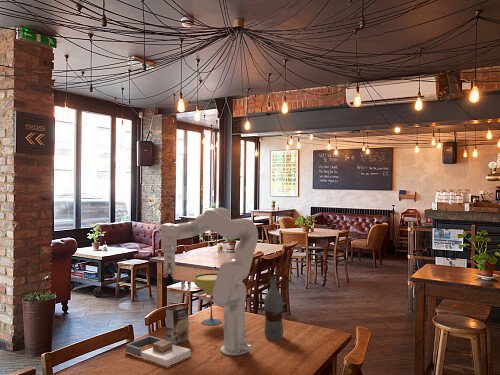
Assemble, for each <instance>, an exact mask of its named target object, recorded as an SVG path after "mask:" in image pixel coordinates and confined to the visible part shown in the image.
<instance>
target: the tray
mask: <svg viewBox="0 0 500 375" xmlns="http://www.w3.org/2000/svg"><path fill="white" fill-rule="evenodd" d="M160 340H164V339H163V338H159V337H156V336H152V335H147V336H145V337H143V338H139V339H137V340H134V341H132V342H128V343H127V344H125V353H126V352H129V353H132V354H134V355H137V356H140V357H141V348H140V347H143V346H145V345H148V344H152V345H153V343H155V342H158V341H160Z"/></svg>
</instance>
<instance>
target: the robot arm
mask: <svg viewBox="0 0 500 375" xmlns="http://www.w3.org/2000/svg"><path fill="white" fill-rule="evenodd" d="M160 227H161V228H160V233H161V234H160V235H161V236H160V239H161V241H160V242H161V246H160V248H161V250H160V251H161V252H162V253H163V265H164V272H165V285H167V286H171V285H173V284H174V279H173V278H174V276H173V272H176V254H175V253H176V252H177V251H178V250H177V247H178V244H177V240H182V239H188V238H193V237H195V236H199V235H202V234H204V233H206V232H208V231H209V232H210V231H213V232H215V233H216V234H218V235H219V236H221V237H223V238H224V239H227V240H236V239H240V240H239V241H238V243H237V245H236V247H235V250H234V253H233V255H232V256H233V257H232V259H231V260H227V261H225V262H224V263H222V264H221V265H220V267H219V269H218V270H217V273H216V274H217V278H216V282H215V285H214V289H213V295H212V301H213V302H214V304H216V306H218V307H223V345H222V346H220V352H221V353H222V354H223V355H225V356H231V357H233V356H234V357H235V356H241V355H242V356H243V355H245V354H246V353H248V352H251V350H252V345H251V344H248V341H247V340H246V331H245V330H246V327H245V326H246V325H245V324H246V319H245V318H246V317H245V316H246V312H245V311H246V310H245V309H246V301H247V300H246V299H247V287H246V285H245V283H244V282H243V281H241V280H245V279H246V278H247V277H248V276H249V273H250V270H251V267H252V263H253V259H254V256H255V255H254V254H255V251H256V248H257V245H258V241H259V232H258V231H259V230H258V227H257V226H256V223H254V222H253V221H252V220H250V219H248V218H236V219H234V218H233V219H232V215H231V212H230V210H229V209H227V208H226V207H210V208H207V209H206V210H205V211H204V213H202V214H199V215H198V216H196V218H195V220H193V221H189V222H182V223H176V224H175V223H168V222H167V223H163V224H161V226H160Z"/></svg>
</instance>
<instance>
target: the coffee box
mask: <svg viewBox="0 0 500 375" xmlns="http://www.w3.org/2000/svg"><path fill="white" fill-rule="evenodd" d="M165 313H166V314H165V340H166V341H170V342H172V344H173V345H179V344H182V343H184V342H187V341H189V306H185V305H177V306H173V307H169V308H166V309H165Z"/></svg>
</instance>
